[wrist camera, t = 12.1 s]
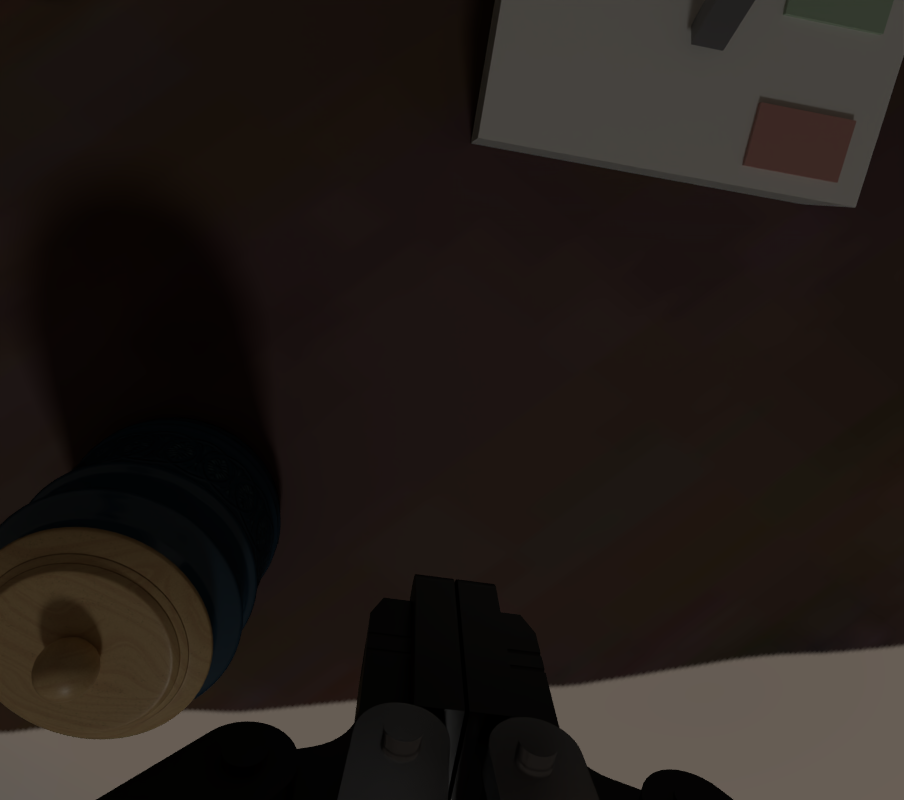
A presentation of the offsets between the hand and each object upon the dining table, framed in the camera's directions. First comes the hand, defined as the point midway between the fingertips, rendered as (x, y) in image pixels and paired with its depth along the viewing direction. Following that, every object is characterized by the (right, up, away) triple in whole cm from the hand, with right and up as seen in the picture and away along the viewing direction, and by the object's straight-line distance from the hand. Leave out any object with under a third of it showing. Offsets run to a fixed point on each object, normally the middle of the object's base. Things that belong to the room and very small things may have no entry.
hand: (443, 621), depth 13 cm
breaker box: (+12, +23, +27) cm, 37 cm away
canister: (-17, -3, +34) cm, 38 cm away
